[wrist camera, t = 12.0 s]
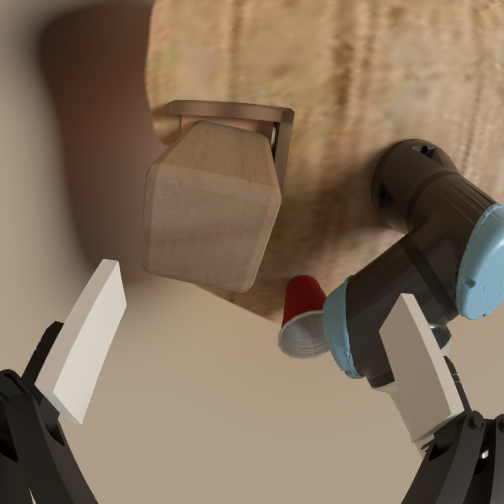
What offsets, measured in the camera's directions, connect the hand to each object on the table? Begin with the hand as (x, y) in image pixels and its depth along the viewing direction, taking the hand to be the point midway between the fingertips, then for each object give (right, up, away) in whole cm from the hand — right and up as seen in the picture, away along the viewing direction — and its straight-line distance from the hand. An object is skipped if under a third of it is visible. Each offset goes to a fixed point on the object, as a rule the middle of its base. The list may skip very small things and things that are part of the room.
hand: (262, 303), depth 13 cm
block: (-4, +15, +25) cm, 30 cm away
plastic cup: (+9, -4, +39) cm, 40 cm away
